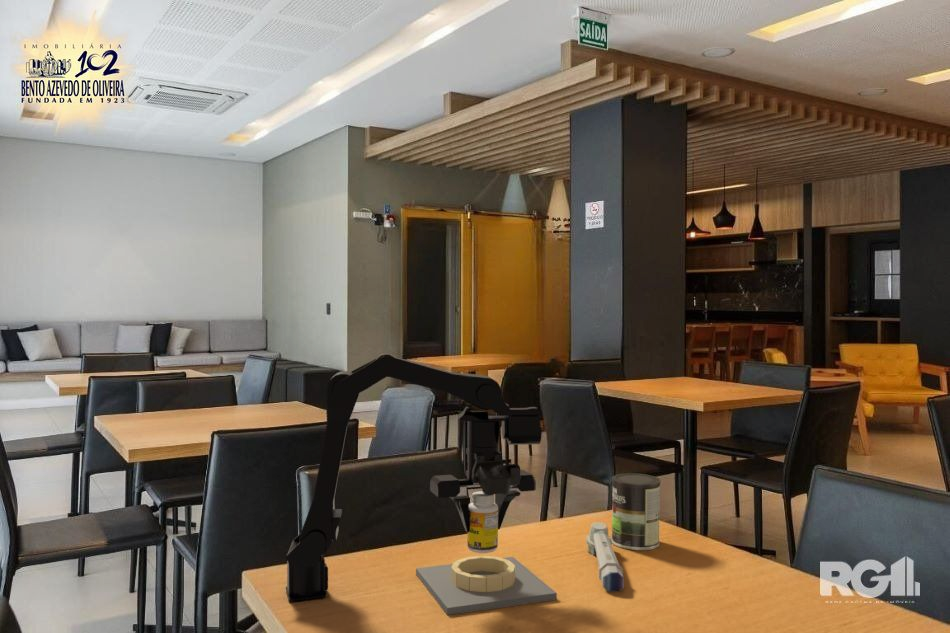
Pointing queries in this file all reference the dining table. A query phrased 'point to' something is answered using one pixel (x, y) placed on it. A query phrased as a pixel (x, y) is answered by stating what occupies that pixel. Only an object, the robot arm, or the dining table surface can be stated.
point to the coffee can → (635, 511)
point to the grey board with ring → (483, 584)
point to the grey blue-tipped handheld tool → (605, 557)
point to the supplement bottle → (483, 523)
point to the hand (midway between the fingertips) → (482, 530)
